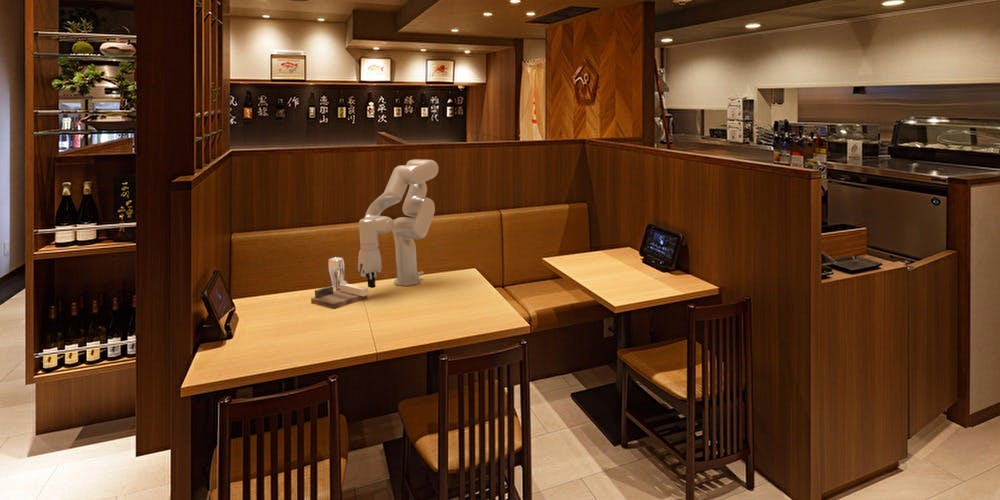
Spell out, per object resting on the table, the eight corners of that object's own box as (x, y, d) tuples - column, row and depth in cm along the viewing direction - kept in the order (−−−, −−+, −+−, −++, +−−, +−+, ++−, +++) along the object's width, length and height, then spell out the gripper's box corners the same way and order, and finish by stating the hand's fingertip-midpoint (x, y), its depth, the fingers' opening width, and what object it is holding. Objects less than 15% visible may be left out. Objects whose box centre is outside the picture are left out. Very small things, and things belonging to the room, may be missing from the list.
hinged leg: (340, 291, 251) (339, 281, 250) (345, 289, 253) (344, 279, 252) (363, 296, 242) (362, 286, 241) (368, 294, 245) (367, 284, 244)
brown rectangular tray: (344, 292, 256) (343, 281, 255) (367, 297, 248) (366, 286, 247) (311, 302, 242) (310, 291, 241) (334, 308, 234) (333, 297, 232)
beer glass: (342, 293, 255) (339, 260, 252) (327, 292, 257) (325, 260, 253) (348, 288, 262) (346, 257, 259) (335, 288, 263) (332, 256, 260)
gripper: (376, 242, 255) (378, 282, 259) (350, 248, 243) (352, 289, 247) (387, 244, 251) (390, 284, 255) (362, 250, 239) (364, 292, 243)
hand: (371, 287), depth 251 cm, fingers closed
